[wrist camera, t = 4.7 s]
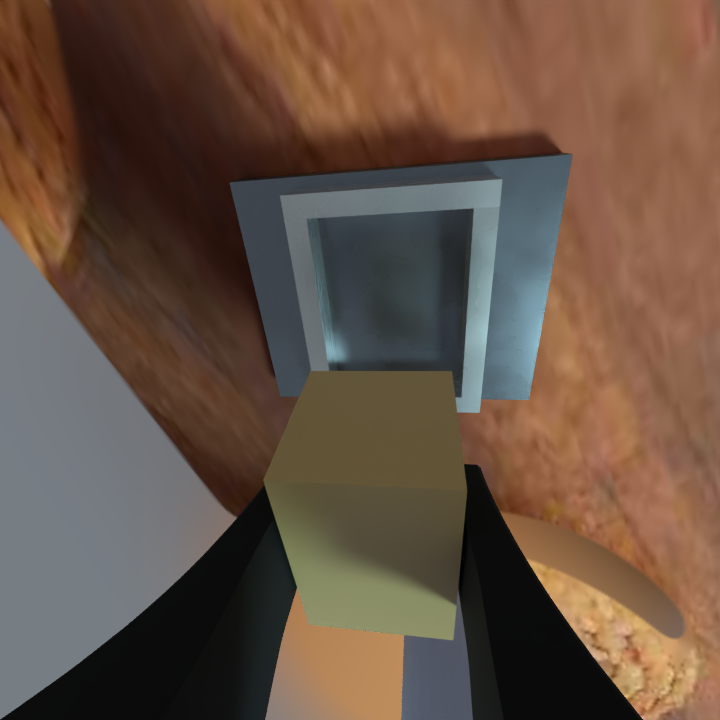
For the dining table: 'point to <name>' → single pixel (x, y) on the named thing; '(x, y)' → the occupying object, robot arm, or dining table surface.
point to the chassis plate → (407, 269)
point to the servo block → (373, 500)
